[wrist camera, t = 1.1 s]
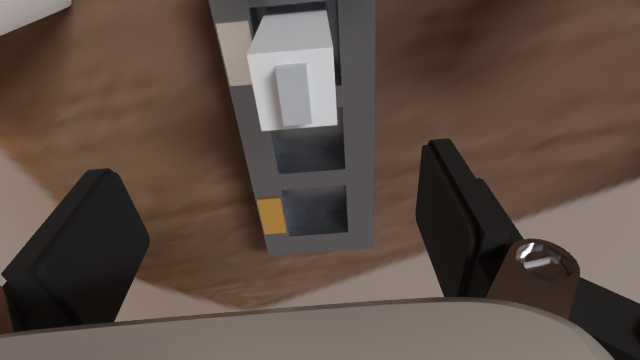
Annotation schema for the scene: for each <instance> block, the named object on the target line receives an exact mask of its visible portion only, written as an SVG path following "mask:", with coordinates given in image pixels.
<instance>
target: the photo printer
mask: <svg viewBox="0 0 640 360" xmlns="http://www.w3.org/2000/svg"><path fill="white" fill-rule="evenodd" d="M70 5H71V0H0V36H1V35H4V34H6V33H8V32H11V31H13V30H16V29H18V28H21V27H23V26H25V25H28V24H30V23H32V22H35V21H37V20H40V19H42V18H44V17H47V16H49V15H51V14H54V13H56V12H59V11H61V10H63V9H65V8H67V7H69V6H70Z"/></svg>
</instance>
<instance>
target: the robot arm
mask: <svg viewBox="0 0 640 360" xmlns="http://www.w3.org/2000/svg"><path fill="white" fill-rule="evenodd" d="M416 221H417V224H418V227H419V230H420V233H421V235H422V238H423V241H424V243H425V246H426V249H427V252H428V254H429V257H430V259H431V262H432V265H433V268H434V270H435V273H436V276H437V279H438V281H439V284H440V287H441V289H442V292H443V295H444V297H438V298H437V297H436V298H416V299H400V300H384V301H368V302H355V303H343V304H329V305H316V306H303V307H291V308H277V309H264V310H252V311H240V312H227V313H217V314H216V313H215V314H203V315H191V316H180V317H167V318H157V319H146V320H145V319H144V320H133V321H122V322H114V321H115V319H116V316H117V314H118V312H119V310H120V308H121V305H122V303H123V301H124V299H125V297H126V294H127V292H128V290H129V288H130V286H131V284H132V282H133V279H134V277H135V275H136V273H137V271H138V268H139V266H140V264H141V262H142V260H143V258H144V255H145V253H146V251H147V249H148V247H149V242H150V239H149V235H148V232H147V230H146V228H145V226H144V224H143V222H142V220H141V218H140V216H139V214H138V212H137V210H136V208H135V206H134V204H133V202H132V200H131V198H130V196H129V194H128V192H127V190H126V188H125V186H124V184H123V182H122V180H121V178H120V176H119V175H118V174H117V173H115V172H113V171H112V170H111V169H108V168H106V169H95V170H88V171H87V172H85V174H84V175H83V176H82V177H81V178H80V180H79V181H78V182H77V183H76V184H75V186H74V187H73V188H72V189H71V190H70V192H69V193H68V194H67V195H66V196H65V198H64V199H63V200H62V201H61V202H60V204H59V205H58V206H57V207H56V208H55V210H54V211H53V212H52V213H51V214H50V216H49V217H48V218H47V219H46V220H45V222H44V223H43V224H42V225H41V226H40V228H39V229H38V230H37V231H36V233H35V234H34V235H33V236H32V237H31V239H30V240H29V241H28V242H27V243H26V245H25V246H24V247H23V248H22V249H21V251H20V252H19V253H18V254H17V255H16V257H15V258H14V259H13V260H12V261H11V263H10V264H9V265H8V266H7V268H6V269H5V270H4V271H3V272H2V274H1V275H2V276H3V277H4V278H5V279H6V280H7V282H6V283H5V284H4V285H3V287H1V286H0V360H640V304H639V303H637V302H635V301H632V300H630V299H628V298H626V297H623V296H621V295H619V294H617V293H614V292H612V291H610V290H608V289H605V288H603V287H601V286H598V285H596V284H594V283H592V282H590V281H587V280H585V279H583V278H581V277H580V267H579V265H578V263H577V261H576V260H575V258H574V257H573V256H572V255H571V254H570V253H569V252H567V251H566V250H565V249H563V248H562V247H560V246H558V245H556V244H554V243H551V242H548V241H545V240H541V239H530V238H529V239H523V237H522V236H521V234H520V233H519V231H518V230H517V229H516V227H515V226H514V224H513V223H512V221H511V220H510V218H509V217H508V215H507V214H506V212H505V211H504V209H503V208H502V206H501V205H500V203H499V202H498V200H497V199H496V198H495V196H494V195H493V193H492V192H491V190H490V189H489V187H488V186H487V184H486V183H485V182H484V181H483V179H480V178H477V179H476V178H475V176H474V175H473V173H472V172H471V170H470V169H469V167H468V166H467V164H466V163H465V161H464V159H463V158H462V156H461V155H460V153H459V152H458V150H457V149H456V147H455V146H454V144H453V143H452V141H451V140H450V139H436V140H430V141H429V143H428V145H424V146H423V147H422V154H421V164H420V174H419V184H418V194H417V204H416Z"/></svg>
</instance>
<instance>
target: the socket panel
mask: <svg viewBox="0 0 640 360" xmlns="http://www.w3.org/2000/svg"><path fill="white" fill-rule="evenodd" d="M208 1H209V5H210V9H211V13H212V18H213V22H214V26H215V30H216V35H217V39H218V43H219V47H220V51H221V56H222V60H223V64H224V68H225V73H226V77H227V81H228V85H229V90H230V94H231V98H232V102H233V107H234V111H235V115H236V119H237V124H238V128H239V132H240V136H241V141H242V145H243V149H244V153H245V158H246V162H247V166H248V170H249V175H250V179H251V183H252V187H253V192H254V196H255V200H256V204H257V209H258V213H259V217H260V221H261V226H262V230H263V234H264V238H265V243H266V247H267V251H268V255H269V256H270V255H283V254H297V253H311V252H324V251H338V250H352V249H365V248H373V228H374V135H375V42H376V0H208ZM314 4H325V6H326V11H327V17H328V22H329V28H330V33H331V39H332V44H333V55H334V73H335V91H336V108H337V125H331V126H319V127H307V128H295V129H282V130H270V131H261V126H260V121H259V116H258V111H257V106H256V100H255V95H254V90H253V85H252V80H251V75H250V70H249V64H248V59H247V53H248V50H249V48H250V46H251V43H252V41H253V39H254V37H255V34H256V32H257V30H258V27H259V25H260V23H261V20H262V18H263V16H264V14H265V11H266V9H270V8H281V7H292V6H303V5H314Z"/></svg>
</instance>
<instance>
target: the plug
mask: <svg viewBox="0 0 640 360" xmlns="http://www.w3.org/2000/svg"><path fill="white" fill-rule="evenodd" d="M247 59H248V64H249V70H250V75H251V80H252V85H253V90H254V95H255V100H256V106H257V111H258V116H259V121H260V126H261V131H270V130H282V129H295V128H307V127H319V126H331V125H337V108H336V91H335V73H334V55H333V44H332V39H331V33H330V28H329V22H328V17H327V11H326V6H325V4H314V5H303V6H292V7H281V8H270V9H266V11H265V14H264V16H263V18H262V20H261V23H260V25H259V27H258V30H257V32H256V34H255V37H254V39H253V41H252V43H251V46H250V48H249V50H248V53H247Z"/></svg>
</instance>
